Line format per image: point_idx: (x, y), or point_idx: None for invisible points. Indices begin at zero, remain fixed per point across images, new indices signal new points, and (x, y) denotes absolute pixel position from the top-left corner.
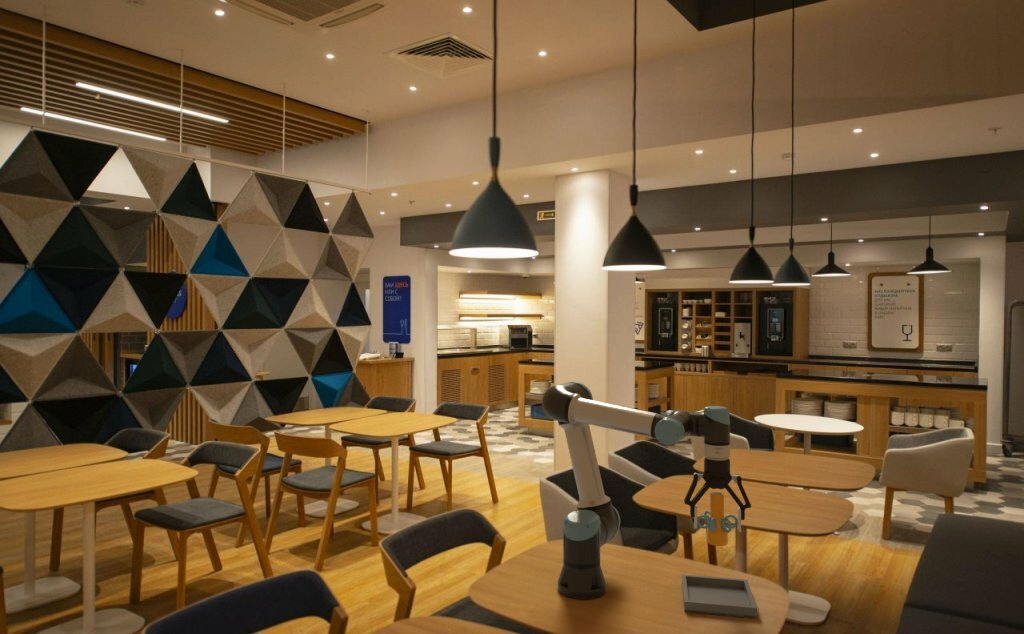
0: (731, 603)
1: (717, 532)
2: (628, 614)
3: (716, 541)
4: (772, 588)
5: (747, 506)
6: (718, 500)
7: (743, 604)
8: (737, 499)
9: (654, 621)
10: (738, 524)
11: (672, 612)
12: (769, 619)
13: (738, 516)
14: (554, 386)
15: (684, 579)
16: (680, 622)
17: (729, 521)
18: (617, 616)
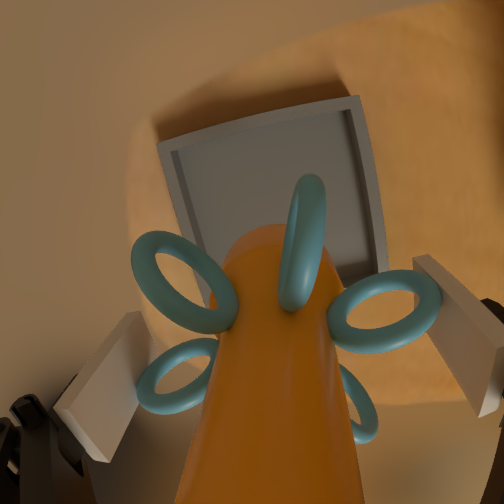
0: (237, 193)
1: (266, 250)
2: (463, 49)
3: (275, 228)
4: (164, 334)
5: (6, 426)
6: (228, 495)
7: (206, 201)
8: (28, 486)
9: (404, 27)
10: (120, 337)
11: (380, 85)
12: (140, 155)
13: (92, 372)
14: None
15: (381, 255)
16: (348, 38)
17: (136, 269)
18: (476, 36)
